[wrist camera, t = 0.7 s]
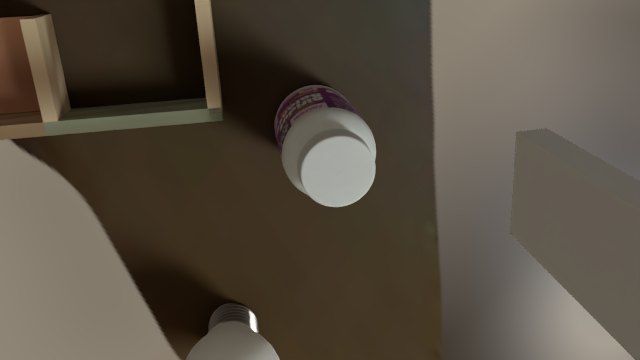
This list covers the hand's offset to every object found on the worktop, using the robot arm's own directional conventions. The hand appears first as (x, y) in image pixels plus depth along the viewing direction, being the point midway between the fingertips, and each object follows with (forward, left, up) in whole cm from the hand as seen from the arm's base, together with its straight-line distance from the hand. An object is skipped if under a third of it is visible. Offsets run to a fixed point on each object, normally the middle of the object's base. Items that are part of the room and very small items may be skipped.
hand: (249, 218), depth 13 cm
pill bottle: (+5, +5, -25) cm, 26 cm away
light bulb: (+20, -2, -25) cm, 32 cm away
